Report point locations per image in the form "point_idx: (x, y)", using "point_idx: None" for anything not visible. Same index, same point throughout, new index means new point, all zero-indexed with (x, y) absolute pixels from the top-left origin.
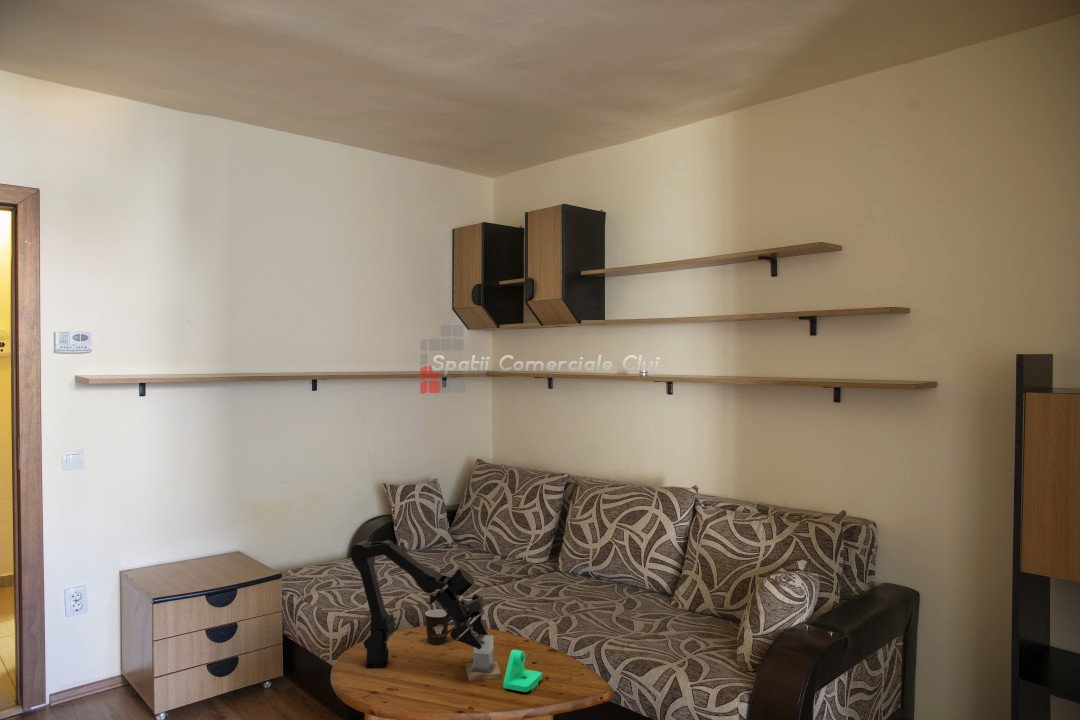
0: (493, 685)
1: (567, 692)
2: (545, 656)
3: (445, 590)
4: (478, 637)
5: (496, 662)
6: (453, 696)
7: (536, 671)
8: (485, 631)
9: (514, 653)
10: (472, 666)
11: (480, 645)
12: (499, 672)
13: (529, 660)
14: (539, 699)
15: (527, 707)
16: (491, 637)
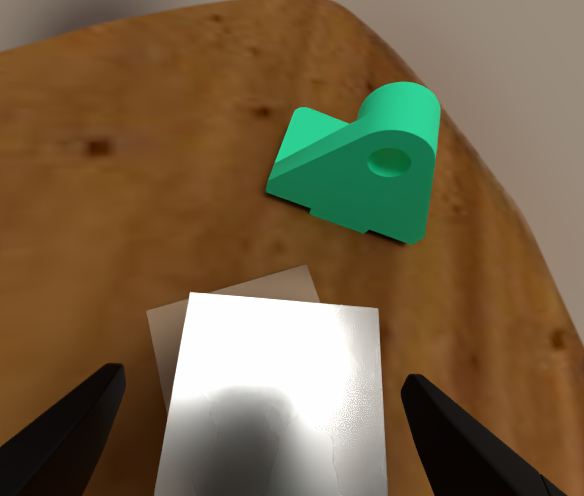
0: (371, 291)
1: (361, 71)
2: (15, 102)
3: None
4: (276, 480)
5: (160, 309)
6: (514, 440)
7: (290, 123)
8: (74, 431)
9: (435, 132)
10: None
11: (436, 388)
12: (294, 274)
13: (68, 166)
14: None
15: (484, 171)
16: (253, 306)
